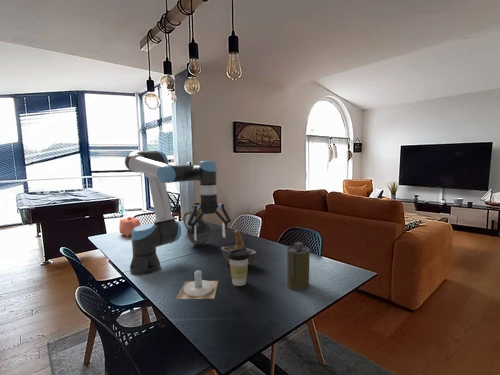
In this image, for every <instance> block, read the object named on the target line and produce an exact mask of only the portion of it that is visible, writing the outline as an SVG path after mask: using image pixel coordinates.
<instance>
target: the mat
mask: <svg viewBox="0 0 500 375" xmlns="http://www.w3.org/2000/svg"><path fill="white" fill-rule="evenodd" d="M192 281H193V280H188V281H187V280H185V281H183V283H182V284H183V285H182V286H181V287H180V290H179V291H178V294H177V296H176V298H175V300H196V299H197V300H199V299H200V300H204V299H205V300H209V299H210V300H211V299H213V300H214V299H215V297H216V293H217V289H218V285H219V280H209V281H210V282H211V283H212V284H213V290H212V292H210V293H209V294H207V295H204V296H200V297H191V296H188V295H186V294H185V293H184V286H185V285H186V284H187V283H189V282H192Z"/></svg>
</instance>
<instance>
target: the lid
mask: <svg viewBox="0 0 500 375" xmlns="http://www.w3.org/2000/svg"><path fill="white" fill-rule="evenodd" d="M193 273H194V275H193V276H194V280H191V281H192V282H189V283H187V284H186V285H185V286H184V293H185V294H186V295H188V296H191V297H200V296H204V295H207V294H209V293H210V292H212V290H213V284H212V283H211V282H210V281H211V280H206V279H203V278H202V277H203V276H202V275H203V272H202V270H200V269H199V270H195V271H194V272H193Z"/></svg>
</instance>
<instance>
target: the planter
mask: <svg viewBox="0 0 500 375" xmlns="http://www.w3.org/2000/svg"><path fill="white" fill-rule="evenodd" d="M233 236H234V239H235V246H221V247H220V250H221V253H222V255H223V257H224V259H225V260H226V261H227V262H228V263H229V264H230V260H229V258H228V256H229V254H230V252H231V251H233V250H238V249H241V250H246V251H247V252H248V254H249V258H248V265H249V264H251V263H252V262H253V261H254V260H255V258H256V256H257V251H256V250H253V249H251V248H247V247H245V243H244V240H243V237H242V235H241V231H239V229H235V230H233Z"/></svg>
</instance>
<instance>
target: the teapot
mask: <svg viewBox="0 0 500 375" xmlns="http://www.w3.org/2000/svg"><path fill="white" fill-rule="evenodd" d="M140 225H141V222H140V219H138V218H136V217H133V216H128V217H127V218H123V219H121V218H120V220H119V234H121V235H122V236H123V237H125V238H130V237H131V236H132V230H133V229H134V228H135V227H137V226H140Z"/></svg>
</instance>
